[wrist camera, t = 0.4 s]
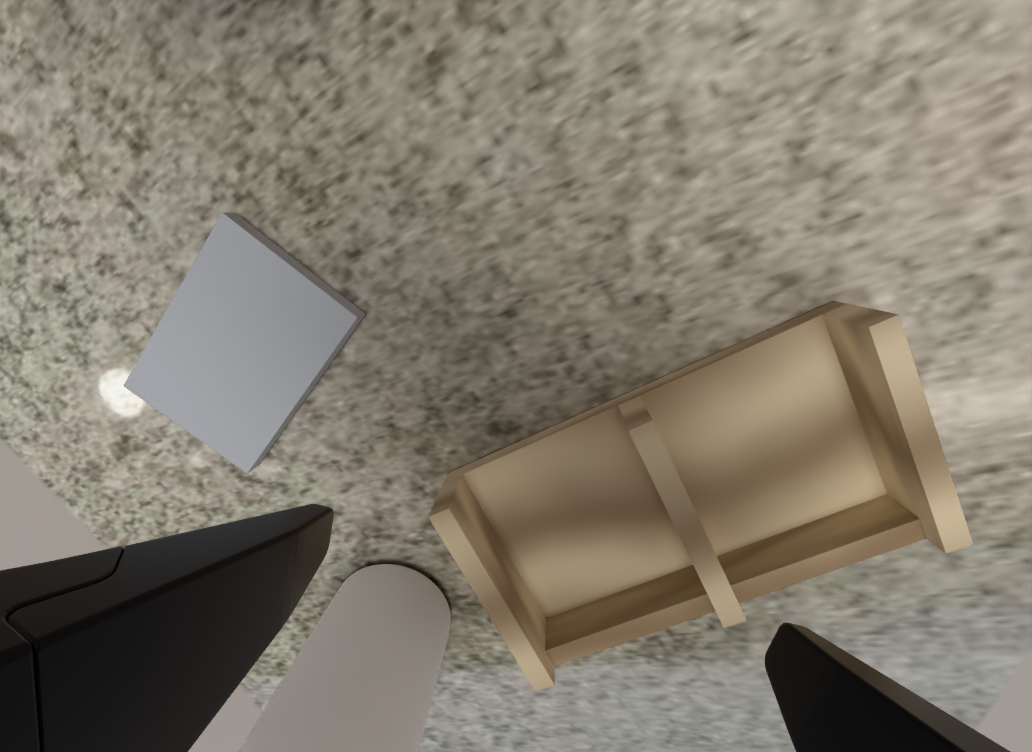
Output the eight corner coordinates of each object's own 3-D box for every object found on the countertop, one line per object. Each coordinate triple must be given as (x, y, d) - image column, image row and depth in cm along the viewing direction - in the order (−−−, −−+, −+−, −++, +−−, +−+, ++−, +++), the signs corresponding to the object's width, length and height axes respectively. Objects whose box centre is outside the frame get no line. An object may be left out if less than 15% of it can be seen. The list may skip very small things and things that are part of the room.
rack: (448, 472, 24) (428, 517, 20) (833, 300, 20) (898, 314, 16) (537, 624, 26) (535, 691, 22) (900, 492, 22) (973, 544, 19)
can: (369, 668, 28) (239, 973, 16) (317, 577, 26) (132, 842, 15) (471, 639, 27) (410, 945, 15) (423, 544, 25) (313, 800, 14)
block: (140, 380, 24) (123, 386, 23) (237, 214, 21) (222, 212, 20) (259, 464, 24) (247, 473, 24) (365, 314, 22) (357, 317, 21)
